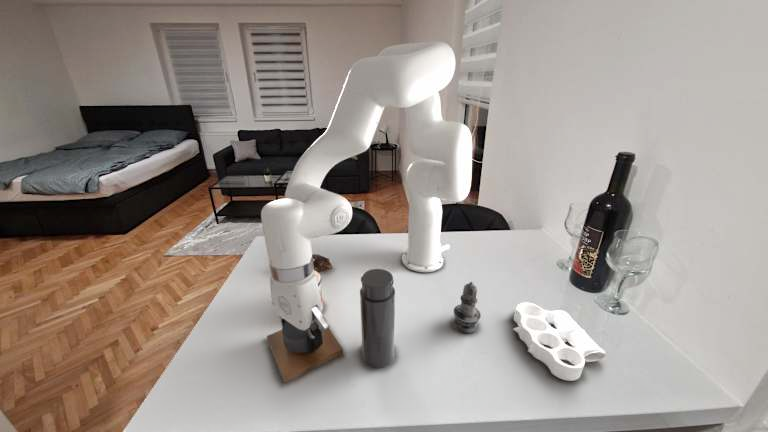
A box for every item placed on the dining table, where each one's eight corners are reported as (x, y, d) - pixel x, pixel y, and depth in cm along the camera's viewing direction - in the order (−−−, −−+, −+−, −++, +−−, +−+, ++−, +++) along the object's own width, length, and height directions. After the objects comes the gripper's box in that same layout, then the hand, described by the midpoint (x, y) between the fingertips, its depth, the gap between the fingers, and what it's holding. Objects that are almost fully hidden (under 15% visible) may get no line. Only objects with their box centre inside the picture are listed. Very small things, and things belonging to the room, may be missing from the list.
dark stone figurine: (479, 319, 71) (486, 276, 66) (477, 337, 66) (485, 293, 61) (453, 313, 73) (458, 271, 68) (450, 330, 68) (455, 287, 63)
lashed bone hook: (335, 259, 95) (277, 260, 94) (334, 246, 93) (275, 246, 93) (331, 276, 87) (267, 276, 86) (330, 262, 85) (265, 262, 84)
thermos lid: (300, 359, 58) (297, 346, 56) (276, 341, 62) (274, 328, 60) (327, 335, 63) (326, 323, 62) (304, 320, 67) (303, 308, 66)
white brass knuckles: (616, 375, 57) (543, 384, 56) (555, 310, 74) (498, 315, 72) (621, 363, 56) (547, 371, 54) (558, 299, 72) (500, 304, 71)
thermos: (382, 337, 66) (382, 263, 58) (400, 358, 61) (402, 280, 53) (356, 351, 63) (352, 274, 55) (373, 373, 58) (371, 293, 50)
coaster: (320, 318, 71) (319, 313, 70) (343, 354, 62) (342, 348, 61) (267, 340, 65) (266, 335, 64) (284, 383, 56) (283, 378, 55)
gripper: (246, 259, 57) (262, 330, 64) (307, 295, 48) (317, 374, 55) (280, 244, 63) (291, 311, 70) (341, 273, 53) (346, 347, 60)
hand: (302, 338), depth 62 cm, fingers closed on thermos lid, 7 cm apart
